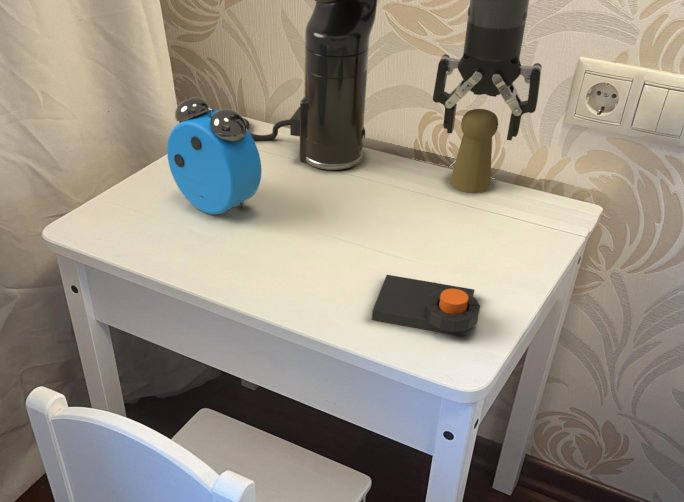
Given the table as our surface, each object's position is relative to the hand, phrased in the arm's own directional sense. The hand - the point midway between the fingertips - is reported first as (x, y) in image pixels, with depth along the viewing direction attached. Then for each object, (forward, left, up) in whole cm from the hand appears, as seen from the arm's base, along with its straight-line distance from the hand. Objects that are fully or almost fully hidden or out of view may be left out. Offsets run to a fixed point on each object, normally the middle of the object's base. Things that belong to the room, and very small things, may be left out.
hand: (479, 134), depth 119 cm
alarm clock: (-34, -18, -8) cm, 39 cm away
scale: (-1, -34, -8) cm, 35 cm away
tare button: (+2, -36, -5) cm, 37 cm away
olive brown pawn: (0, 0, -8) cm, 8 cm away
